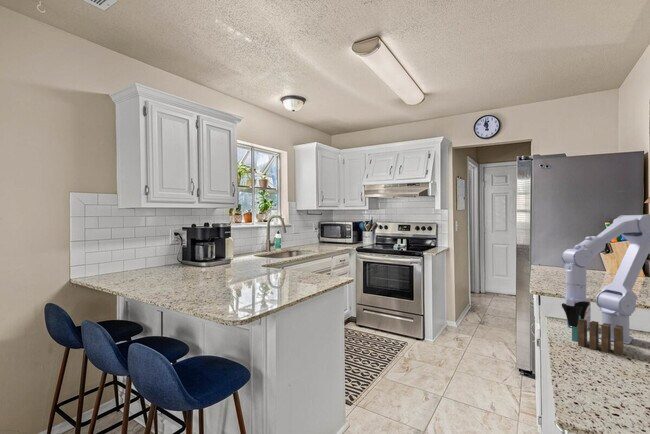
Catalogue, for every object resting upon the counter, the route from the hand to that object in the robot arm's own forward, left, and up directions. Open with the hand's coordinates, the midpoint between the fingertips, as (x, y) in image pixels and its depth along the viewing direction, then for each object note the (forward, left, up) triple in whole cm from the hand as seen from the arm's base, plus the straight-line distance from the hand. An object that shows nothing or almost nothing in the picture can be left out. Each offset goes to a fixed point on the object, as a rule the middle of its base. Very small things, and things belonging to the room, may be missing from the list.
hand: (576, 324), depth 116 cm
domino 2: (+4, +3, -5) cm, 8 cm away
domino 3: (+4, +6, -5) cm, 9 cm away
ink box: (-20, -3, -6) cm, 21 cm away
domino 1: (0, 0, -5) cm, 5 cm away
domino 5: (+4, +12, -5) cm, 14 cm away
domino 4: (+4, +9, -5) cm, 11 cm away
